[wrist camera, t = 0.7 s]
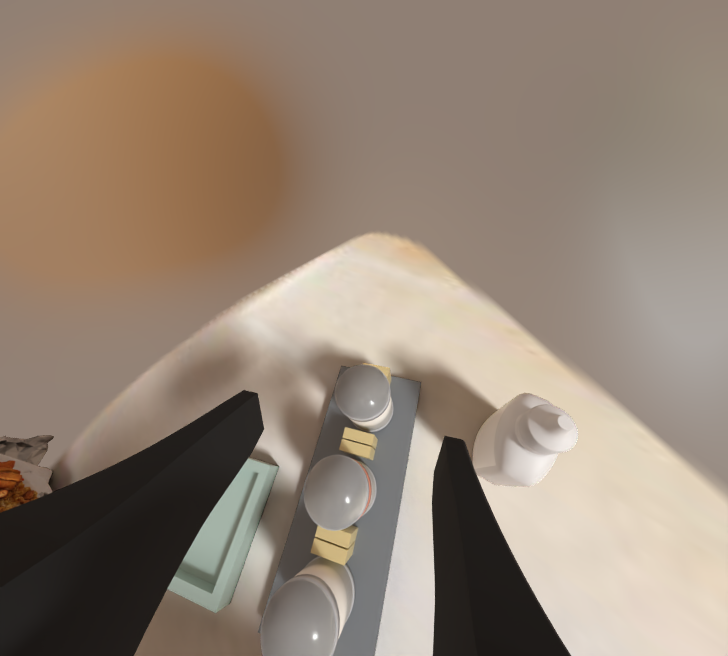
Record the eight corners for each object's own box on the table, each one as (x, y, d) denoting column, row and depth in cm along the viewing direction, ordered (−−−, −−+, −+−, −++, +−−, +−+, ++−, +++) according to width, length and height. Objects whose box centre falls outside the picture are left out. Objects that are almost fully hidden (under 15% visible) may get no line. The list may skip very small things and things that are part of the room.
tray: (230, 603, 21) (215, 613, 19) (134, 557, 23) (114, 563, 22) (279, 466, 25) (270, 465, 24) (194, 439, 27) (181, 437, 26)
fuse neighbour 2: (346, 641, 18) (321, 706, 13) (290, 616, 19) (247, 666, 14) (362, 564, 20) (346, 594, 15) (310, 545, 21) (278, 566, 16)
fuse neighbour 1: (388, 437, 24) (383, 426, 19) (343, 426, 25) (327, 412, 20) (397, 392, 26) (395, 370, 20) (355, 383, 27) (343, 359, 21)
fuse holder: (371, 675, 18) (362, 724, 14) (265, 624, 20) (234, 656, 16) (420, 386, 27) (422, 371, 23) (343, 369, 29) (334, 353, 25)
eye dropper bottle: (452, 443, 24) (486, 415, 14) (501, 407, 25) (569, 356, 15) (488, 493, 22) (561, 505, 12) (540, 452, 23) (653, 429, 12)
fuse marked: (369, 525, 21) (357, 541, 16) (320, 508, 22) (294, 517, 17) (382, 467, 23) (374, 464, 18) (336, 454, 24) (316, 447, 19)
